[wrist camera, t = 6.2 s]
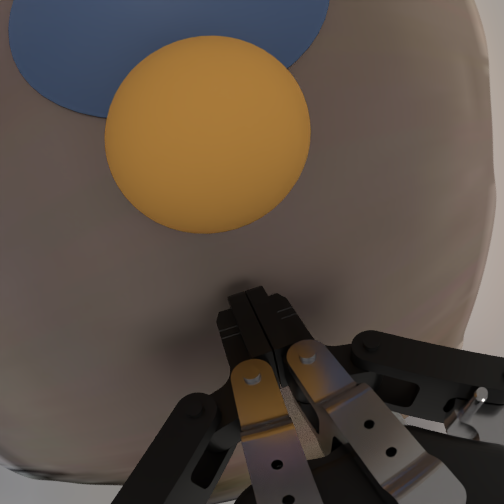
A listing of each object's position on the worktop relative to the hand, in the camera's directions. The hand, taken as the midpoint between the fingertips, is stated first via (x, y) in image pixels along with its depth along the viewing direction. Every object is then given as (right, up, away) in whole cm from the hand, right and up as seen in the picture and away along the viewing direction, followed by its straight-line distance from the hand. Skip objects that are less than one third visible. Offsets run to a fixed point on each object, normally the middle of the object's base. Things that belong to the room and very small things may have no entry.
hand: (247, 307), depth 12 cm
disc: (-3, +14, -6) cm, 15 cm away
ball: (-1, +6, -5) cm, 7 cm away
